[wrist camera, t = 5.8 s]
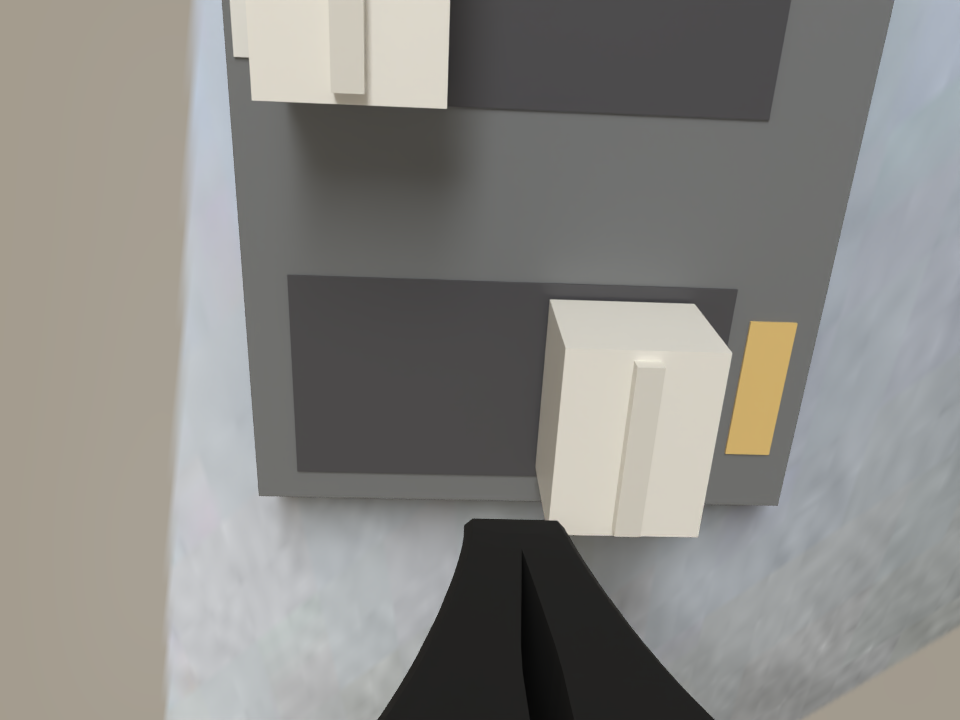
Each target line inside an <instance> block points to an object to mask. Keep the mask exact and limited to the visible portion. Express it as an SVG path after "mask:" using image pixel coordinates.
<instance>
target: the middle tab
mask: <svg viewBox="0 0 960 720" xmlns="http://www.w3.org/2000/svg"><path fill="white" fill-rule="evenodd" d="M245 3H246V19H247V35H248V50H249V66H250V81H251V97H252V101H275V102H299V103H322V104H345V105H368V106H392V107H415V108H438V109H447V91H448V57H449V22H450V0H245Z"/></svg>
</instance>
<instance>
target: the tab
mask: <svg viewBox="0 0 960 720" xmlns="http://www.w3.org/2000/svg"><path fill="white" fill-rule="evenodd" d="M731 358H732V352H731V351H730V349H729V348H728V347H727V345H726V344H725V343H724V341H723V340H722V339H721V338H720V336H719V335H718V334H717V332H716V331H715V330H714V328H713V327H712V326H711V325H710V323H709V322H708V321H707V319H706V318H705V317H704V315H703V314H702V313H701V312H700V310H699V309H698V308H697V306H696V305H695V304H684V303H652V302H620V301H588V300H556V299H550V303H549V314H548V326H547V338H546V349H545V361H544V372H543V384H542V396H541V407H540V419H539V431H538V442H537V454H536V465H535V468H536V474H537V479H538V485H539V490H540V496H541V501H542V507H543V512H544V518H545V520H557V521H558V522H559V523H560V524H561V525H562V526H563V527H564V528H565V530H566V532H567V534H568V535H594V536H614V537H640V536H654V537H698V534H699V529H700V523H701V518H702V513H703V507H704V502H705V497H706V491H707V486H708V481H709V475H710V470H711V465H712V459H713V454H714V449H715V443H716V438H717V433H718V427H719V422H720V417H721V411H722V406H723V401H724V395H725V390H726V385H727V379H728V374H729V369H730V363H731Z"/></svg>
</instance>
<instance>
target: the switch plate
mask: <svg viewBox="0 0 960 720" xmlns="http://www.w3.org/2000/svg"><path fill="white" fill-rule="evenodd" d="M893 4H894V0H450V22H449V57H448V91H447V109H438V108H415V107H392V106H368V105H345V104H322V103H299V102H275V101H252V97H251V81H250V66H249V50H248V35H247V19H246V3H245V0H222V9H223V23H224V36H225V49H226V63H227V76H228V89H229V103H230V116H231V129H232V143H233V156H234V169H235V183H236V196H237V210H238V223H239V236H240V250H241V263H242V276H243V290H244V303H245V316H246V330H247V343H248V356H249V370H250V383H251V396H252V410H253V423H254V436H255V450H256V463H257V476H258V490H259V496H288V497H341V498H395V499H448V500H501V501H541V496H540V490H539V485H538V479H537V474H536V468H535V465H536V454H537V442H538V431H539V419H540V407H541V396H542V384H543V372H544V361H545V349H546V338H547V326H548V314H549V303H550V299H556V300H588V301H620V302H652V303H684V304H695V305H696V306H697V308H698V309H699V310H700V312H701V313H702V314H703V315H704V317H705V318H706V319H707V321H708V322H709V323H710V325H711V326H712V327H713V328H714V330H715V331H716V332H717V334H718V335H719V336H720V338H721V339H722V340H723V341H724V343H725V344H726V345H727V347H728V348H729V349H730V351H731V352H732V358H731V363H730V369H729V374H728V379H727V385H726V390H725V395H724V401H723V406H722V411H721V417H720V422H719V427H718V433H717V438H716V443H715V449H714V454H713V459H712V465H711V470H710V475H709V481H708V486H707V491H706V497H705V502H704V504H714V505H768V506H778V502H779V497H780V493H781V489H782V484H783V480H784V476H785V471H786V467H787V463H788V458H789V454H790V450H791V445H792V441H793V437H794V432H795V428H796V424H797V419H798V415H799V411H800V406H801V402H802V398H803V393H804V389H805V385H806V380H807V376H808V372H809V367H810V363H811V359H812V354H813V350H814V346H815V342H816V337H817V333H818V329H819V324H820V320H821V316H822V311H823V307H824V303H825V298H826V294H827V290H828V285H829V281H830V277H831V272H832V268H833V264H834V259H835V255H836V251H837V246H838V242H839V238H840V233H841V229H842V225H843V220H844V216H845V212H846V207H847V203H848V199H849V194H850V190H851V186H852V181H853V177H854V173H855V168H856V164H857V160H858V155H859V151H860V147H861V143H862V138H863V134H864V130H865V125H866V121H867V117H868V112H869V108H870V104H871V99H872V95H873V91H874V86H875V82H876V78H877V73H878V69H879V65H880V60H881V56H882V52H883V47H884V43H885V39H886V34H887V30H888V26H889V21H890V17H891V13H892V8H893Z"/></svg>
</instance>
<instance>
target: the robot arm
mask: <svg viewBox="0 0 960 720" xmlns="http://www.w3.org/2000/svg"><path fill="white" fill-rule="evenodd" d="M378 720H714V719H713V718H712V717H711V716H710V715H709V714H708V713H707V712H706V711H705V710H704V709H703V708H702V707H701V706H700V705H699V704H698V703H697V702H696V701H695V700H694V699H693V698H692V697H691V696H690V695H689V694H688V693H687V691H686V690H685V689H684V688H683V687H682V686H681V685H680V684H679V683H678V682H677V681H676V680H675V679H674V677H673V676H672V675H671V674H670V673H669V672H668V671H667V670H666V668H665V667H664V666H663V665H662V664H661V663H660V662H659V660H658V659H657V658H656V657H655V656H654V654H653V653H652V652H651V651H650V650H649V649H648V647H647V646H646V645H645V644H644V643H643V641H642V640H641V639H640V638H639V636H638V635H637V634H636V633H635V631H634V630H633V629H632V628H631V626H630V625H629V624H628V622H627V621H626V620H625V618H624V617H623V616H622V614H621V613H620V612H619V610H618V609H617V608H616V606H615V605H614V604H613V602H612V601H611V600H610V598H609V597H608V596H607V594H606V593H605V591H604V590H603V588H602V587H601V586H600V584H599V583H598V581H597V580H596V578H595V577H594V575H593V574H592V572H591V571H590V569H589V568H588V566H587V565H586V563H585V562H584V560H583V559H582V557H581V555H580V554H579V552H578V551H577V549H576V547H575V546H574V544H573V542H572V541H571V539H570V537H569V535H568V534H567V532H566V530H565V528H564V527H563V526H562V525H561V524H560V523H559V522H558V521H557V520H511V519H472V520H470V521H469V522H468V523H467V524H465V525H464V539H463V544H462V549H461V553H460V557H459V560H458V563H457V567H456V570H455V573H454V576H453V579H452V581H451V584H450V586H449V589H448V591H447V593H446V596H445V598H444V601H443V603H442V606H441V608H440V611H439V613H438V615H437V617H436V619H435V621H434V623H433V625H432V627H431V629H430V631H429V633H428V635H427V637H426V639H425V641H424V643H423V645H422V647H421V649H420V651H419V653H418V655H417V657H416V659H415V660H414V662H413V664H412V666H411V667H410V669H409V671H408V673H407V674H406V676H405V678H404V679H403V681H402V683H401V684H400V686H399V688H398V689H397V691H396V692H395V694H394V696H393V697H392V699H391V700H390V702H389V703H388V705H387V707H386V708H385V710H384V711H383V713H382V714H381V716H380V717H379V718H378Z"/></svg>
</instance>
